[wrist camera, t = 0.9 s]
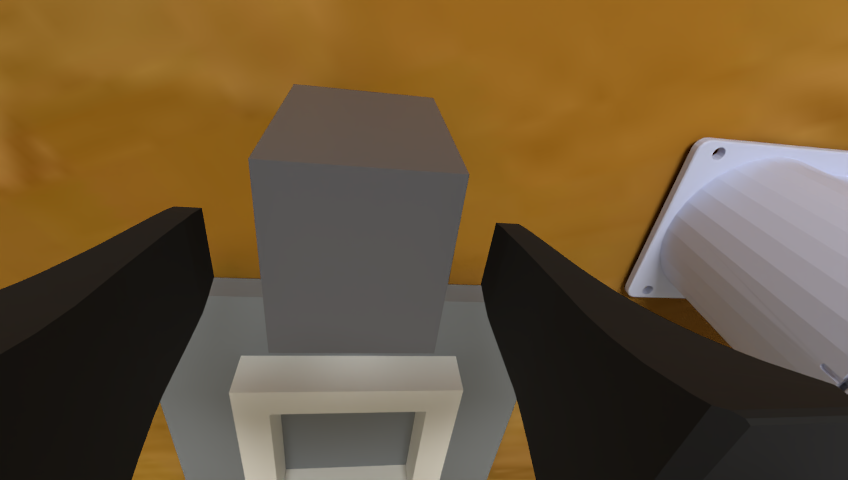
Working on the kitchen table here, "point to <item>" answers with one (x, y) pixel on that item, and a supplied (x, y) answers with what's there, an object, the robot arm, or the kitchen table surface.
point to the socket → (336, 400)
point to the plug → (355, 221)
